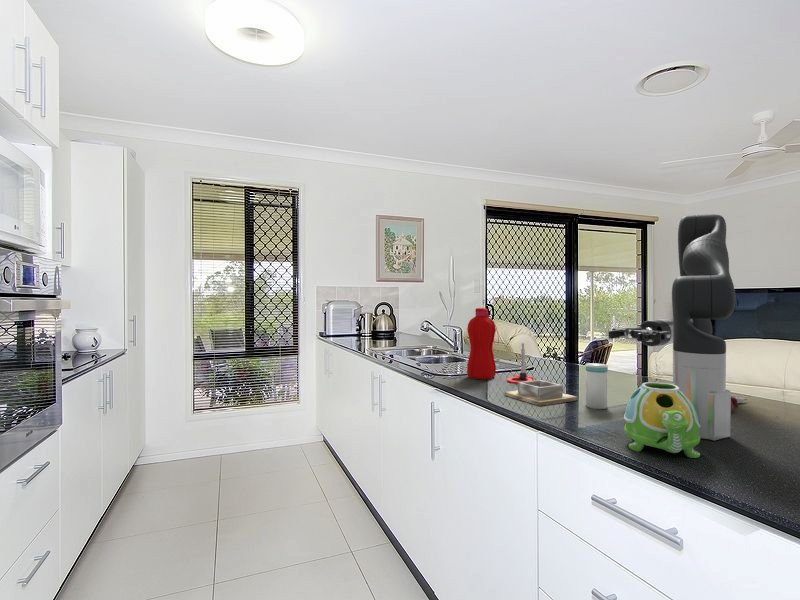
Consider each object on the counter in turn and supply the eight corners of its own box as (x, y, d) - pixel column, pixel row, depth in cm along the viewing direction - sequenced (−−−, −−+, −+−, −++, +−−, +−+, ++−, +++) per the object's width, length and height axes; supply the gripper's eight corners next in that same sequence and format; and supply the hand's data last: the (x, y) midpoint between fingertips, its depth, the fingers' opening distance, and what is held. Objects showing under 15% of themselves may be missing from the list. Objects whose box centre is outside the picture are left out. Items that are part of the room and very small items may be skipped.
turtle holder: (634, 465, 73) (635, 395, 73) (619, 433, 90) (619, 377, 90) (721, 475, 69) (721, 401, 69) (687, 440, 86) (688, 381, 86)
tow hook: (528, 386, 141) (536, 380, 149) (527, 347, 140) (535, 343, 148) (503, 384, 145) (512, 378, 153) (502, 346, 145) (511, 342, 153)
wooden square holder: (577, 400, 120) (577, 386, 120) (539, 405, 113) (540, 390, 113) (539, 390, 132) (539, 377, 132) (504, 395, 126) (504, 381, 126)
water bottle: (493, 381, 147) (493, 308, 147) (464, 378, 153) (464, 308, 153) (502, 377, 154) (503, 308, 154) (474, 374, 160) (474, 307, 160)
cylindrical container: (612, 407, 112) (612, 365, 112) (598, 409, 110) (598, 366, 110) (594, 403, 117) (594, 362, 117) (581, 405, 114) (581, 364, 114)
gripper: (636, 318, 132) (600, 321, 124) (684, 321, 119) (648, 324, 112) (636, 342, 132) (601, 346, 125) (684, 348, 120) (649, 352, 112)
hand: (623, 336), depth 118 cm, fingers open, 8 cm apart
